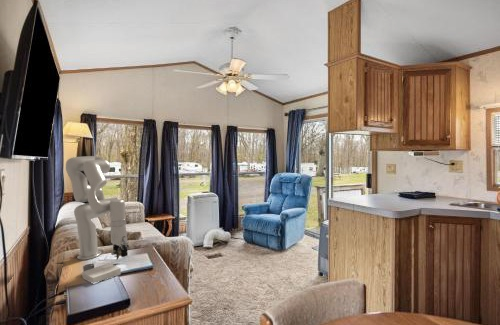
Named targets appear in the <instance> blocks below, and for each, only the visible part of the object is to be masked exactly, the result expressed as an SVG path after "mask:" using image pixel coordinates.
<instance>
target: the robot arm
mask: <svg viewBox="0 0 500 325" xmlns="http://www.w3.org/2000/svg"><path fill="white" fill-rule="evenodd" d="M110 170H111V164H110V162H109V161H108V160H106V158H103V157H100V156H97V155H88V156H87V155H86V156H74V157H70V158H67V160H66V162H65V171H66V173H67V176H68V178H69V180H70V183H71V188H72V193H73V199H74V200H75V202H77V203H83V204H80V205H77V206H76V207H75V208H74V210H73V214H74V218H75V221H76V225H77V226H76V227H77V236H78V246H79V247H78V248H79V254H78V255H77V258H76V259H78V260H79V261H85V260H91V259H95V258H97V257H100V256H101V255H102V251H101V250H99V248H98V247H99V246H98V236H97V227H96V224H95V223H94V221H92V220H93V219H96V218H102V217H104V216H105V215H106V214H108V213H109V218H110V243H111V244H112V247H113V248H112V251H114V250H115V251H117V250H118V248H119V247H120V246H121V249H122V250H121V256H120V257H121V258H125V257H127V256H128V249H129V247H128V246H129V241H128V232H127V227H126V225H127V220H126V219H127V218H126V217H127V216H126V202H125V200H123V199H120V198H118V197H111V198H105V194H104V190H103V187H105V186H106V185H107V183H108V181H107V179H106V177H105V175H104V174H107V173H109V172H110ZM83 172H84V173H83ZM85 202H88V203H85ZM123 245H124V246H123ZM127 248H128V249H127Z"/></svg>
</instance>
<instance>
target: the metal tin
mask: <svg viewBox="0 0 500 325" xmlns="http://www.w3.org/2000/svg"><path fill="white" fill-rule="evenodd" d="M93 268H95V264H94V263H88V264H85V265H83V266H82V270H83V271H82V272H84V271H87V270H90V269H93Z"/></svg>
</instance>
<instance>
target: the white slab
mask: <svg viewBox="0 0 500 325" xmlns="http://www.w3.org/2000/svg"><path fill="white" fill-rule="evenodd" d="M121 272H122V270H121V267H118V266H116V265H114V264H111V263H104V264H102V265H98V266H96V267H94V268H93V269H90V270H87V271H84V272H83V271H82V272H81V275H82V279H84V281H87V282H89V283H90V282H93V283H94V282H98V281H101V280H104V279H107V278H109V279H112V278H114V276H115V277H118V276H120V275H122V273H121ZM111 277H112V278H111ZM107 280H108V279H107ZM104 281H105V280H104ZM101 282H102V281H101Z"/></svg>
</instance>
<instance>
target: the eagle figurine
mask: <svg viewBox="0 0 500 325" xmlns="http://www.w3.org/2000/svg"><path fill="white" fill-rule="evenodd" d="M123 246H124V245H123ZM129 248H130V247H129V245H128V248H127V250H128V249H129ZM121 250H122V249H121V246H119V248H118V250H117V251H115V250H114V251H113V250H112V251H111V253H110V254H111V255H112V256H114V257H115V258H116V260H118V259H119V258H120V257H121Z"/></svg>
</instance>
